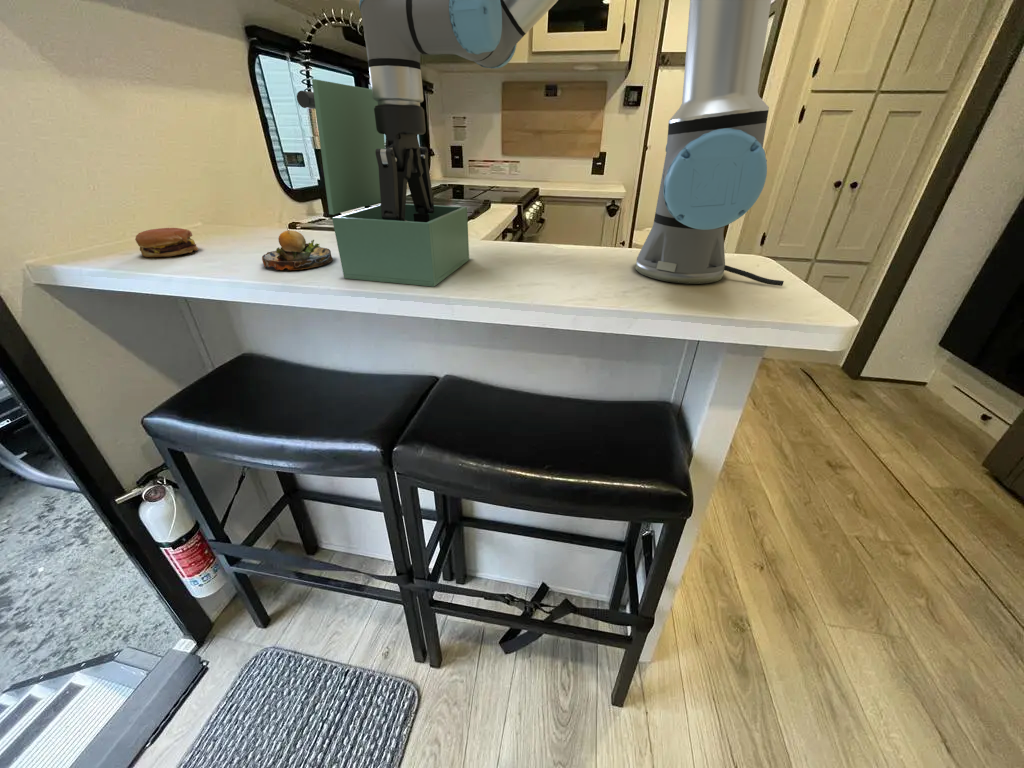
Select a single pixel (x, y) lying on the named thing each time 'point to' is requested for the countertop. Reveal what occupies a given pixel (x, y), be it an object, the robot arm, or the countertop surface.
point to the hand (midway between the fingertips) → (414, 255)
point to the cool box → (402, 245)
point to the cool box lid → (346, 143)
